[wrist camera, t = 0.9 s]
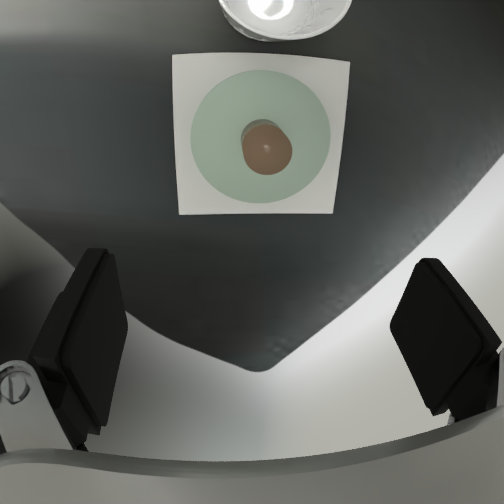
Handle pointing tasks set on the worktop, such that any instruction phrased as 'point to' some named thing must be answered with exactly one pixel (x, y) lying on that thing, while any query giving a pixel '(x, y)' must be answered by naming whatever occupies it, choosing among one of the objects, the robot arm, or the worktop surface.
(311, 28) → the white cup
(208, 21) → the worktop surface
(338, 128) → the mat
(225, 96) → the lid
